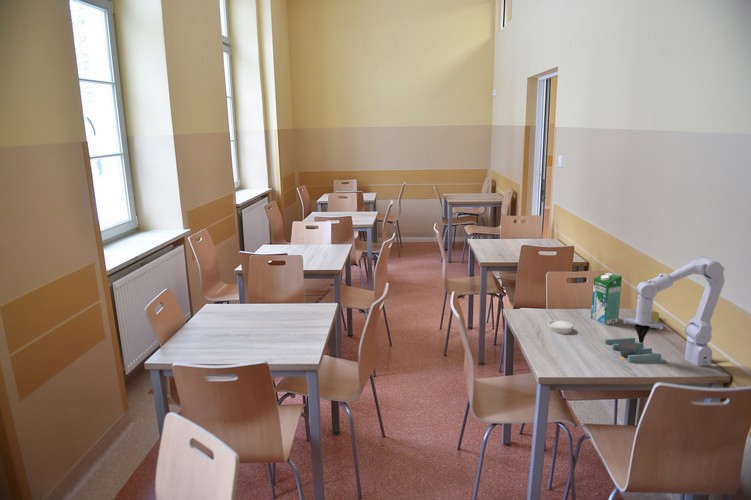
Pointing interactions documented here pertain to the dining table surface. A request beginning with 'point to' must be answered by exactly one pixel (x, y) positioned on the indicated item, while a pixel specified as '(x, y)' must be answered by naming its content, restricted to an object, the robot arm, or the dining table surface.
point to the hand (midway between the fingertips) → (641, 342)
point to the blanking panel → (628, 347)
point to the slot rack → (642, 353)
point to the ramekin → (560, 327)
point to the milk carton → (606, 298)
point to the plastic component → (654, 317)
